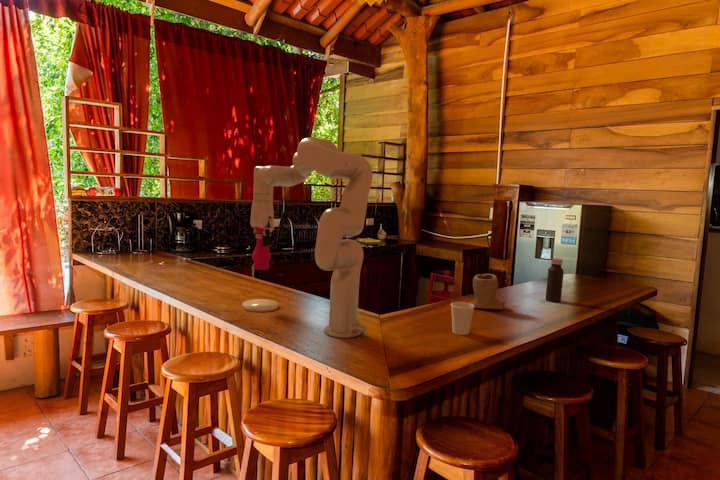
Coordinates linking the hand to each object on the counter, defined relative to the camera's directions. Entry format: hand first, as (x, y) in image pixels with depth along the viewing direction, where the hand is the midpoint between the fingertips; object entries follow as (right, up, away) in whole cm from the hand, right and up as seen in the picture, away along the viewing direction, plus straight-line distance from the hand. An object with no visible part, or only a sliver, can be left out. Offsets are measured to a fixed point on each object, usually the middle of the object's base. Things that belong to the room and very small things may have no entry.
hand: (261, 244), depth 186 cm
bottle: (+130, -27, +40) cm, 139 cm away
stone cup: (+93, -28, +18) cm, 99 cm away
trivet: (-1, -25, +3) cm, 25 cm away
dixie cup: (+74, -31, -18) cm, 82 cm away
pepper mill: (0, -10, +1) cm, 10 cm away
